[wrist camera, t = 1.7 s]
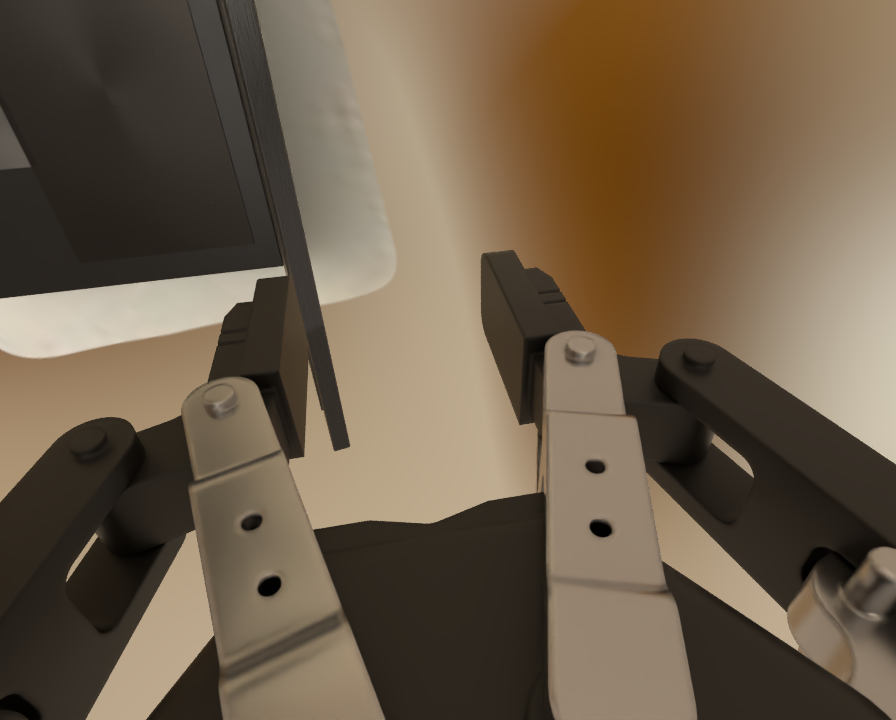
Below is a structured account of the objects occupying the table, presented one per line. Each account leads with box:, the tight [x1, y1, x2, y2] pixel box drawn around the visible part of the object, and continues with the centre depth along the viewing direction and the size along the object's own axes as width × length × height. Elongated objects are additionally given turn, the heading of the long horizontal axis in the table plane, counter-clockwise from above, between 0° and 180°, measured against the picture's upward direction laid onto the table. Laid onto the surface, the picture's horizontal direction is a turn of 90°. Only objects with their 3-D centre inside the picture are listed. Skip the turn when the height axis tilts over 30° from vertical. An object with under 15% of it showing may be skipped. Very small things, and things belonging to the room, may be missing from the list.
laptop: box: [0, 0, 284, 298], centre depth 34 cm, size 20×26×2 cm
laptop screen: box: [217, 0, 350, 451], centre depth 27 cm, size 20×26×1 cm
